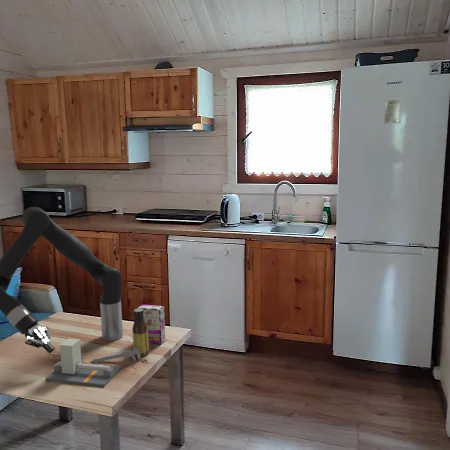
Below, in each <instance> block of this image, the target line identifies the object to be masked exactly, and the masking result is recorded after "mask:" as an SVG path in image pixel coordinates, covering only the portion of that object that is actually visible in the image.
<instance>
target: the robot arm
mask: <svg viewBox="0 0 450 450" xmlns="http://www.w3.org/2000/svg"><path fill="white" fill-rule="evenodd" d="M21 218H22V223H23V225H24V227H23V229H22V231H21V233H20V234H19V236H18V238H17V239H16V241H15V242H14V243H13V244H11V245H10V247H9V248H8V249H7V250H6V251H5V252H4V254H3V255H2V257H1V258H0V312H1V313H2V314H3V315H4V316H5V317H6V319H7V320H8V322H10V324H11V325H12V326H13V327H14V328H15V329H16V330H17V331H18V332H19V334H21V335H24V336H25V338H26V340H25V342H24V343H25V344H26V345H27V346H31V347H34V348H37V349H39V348H43V349H44V350H45V351H46V352H47V353H49V354H51V353H53V351H55V349H56V348H55V346H54V345H53V344H52V343H51V342H50V340H51V337H52V336H51V333H50V328H49V326H45V327H43V326H42V325H41V324H39V323H38V322H39V320H38V319H37V318H36V317H35V315H33V314H32V313H31V311H29V310H28V308H27V307H25V306H24V305H23V304H22V303H21V302H20V301H19V300H18V299H17V298H16V297H15V296H13V295H12V294H9V293H7V290H8V288H9V286H10V284H11V282H12V278H13V276H14V274H15V273H16V271H17V270H18V268H19V266H20V265H21V263H22V262H23V260H24V258H25V257H26V255H27V254H28V253H29V251H30V249H31V248H32V247H33V245H35V243H36V242H37V241H38V240H39V238H41V237H43V238H44V239H46V240H47V241H48V242H49V243H50V244H51V245H52V246H53V247H54V249H55V250H56V251H58V252H59V253H60V254H61V255H62V256H63V257H65V258H66V259H67V260H69V262H71V263H73V265H76V266H77V267H79V268H81V269H83V270H84V271H86V273H88V274H89V276H90V277H92V278H93V279H94V280H95V281H96V282H97V283H98V284H99V285H100V286H102V294H101V295H100V296H99V308H100V322H101V323H100V324H101V325H100V326H101V338H102V340H104V341H110V342H111V341H117V340H120V339H121V338H123V336H124V335H123V333H124V332H123V316H122V314H123V313H122V299H121V298H122V295H123V277H122V274H121V272H120V270H118V269H117V268H114V267H113V266H110V265H108V264H106V263H104V262H103V261H101V260H100V259H98V258H97V257H96V256H95V255H94V254H93V252H92V251H91V249H90V248H89V247H88V246H87V245H86V243H84V242H83V241H82V240H80V239H79V238H78V237H77V236H75V235H74V234H72V233H70V232H69V231H68V230H66V229H64V228H63V227H61V226H59V225H58V224H57V223H56V222H54V220H53V219H51V218H50V216H49V214H48V213H47V212H46V211H45V210H44V209H42V208H41V207H37V206H31V207H28V208H26V209H25V210H24V211H23V212H22V215H21Z"/></svg>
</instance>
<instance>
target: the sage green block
mask: <svg viewBox="0 0 450 450" xmlns="http://www.w3.org/2000/svg"><path fill="white" fill-rule="evenodd" d="M59 352H60V362H61V366H62V373H66V374H75V373H76V372H77V371H78V370H79V369H76V363H80V364H82V363H83V361H82V349H81V339H79V338H78V339H77V338H67V339H66V340H64V341H63V342H61V344H59Z"/></svg>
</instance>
